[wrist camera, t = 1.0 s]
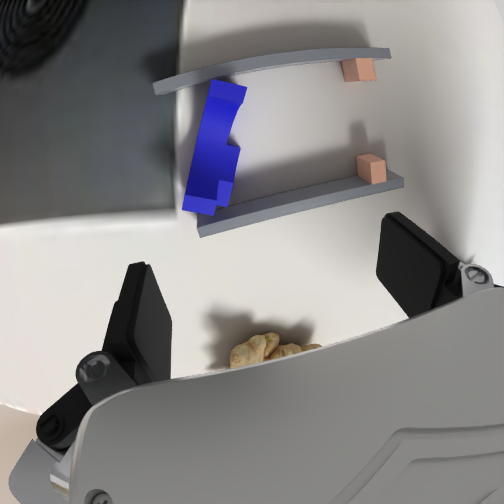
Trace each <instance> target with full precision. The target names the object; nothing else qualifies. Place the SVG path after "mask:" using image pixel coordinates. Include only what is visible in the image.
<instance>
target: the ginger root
mask: <svg viewBox="0 0 504 504" xmlns="http://www.w3.org/2000/svg"><path fill="white" fill-rule="evenodd" d="M278 344H279V335H278V334H275V333H271V332H270V333H266V334H263V335H255V336H253V337H251V338H250V339H249V340H248V341H247V342H245V343H242V344H239V345H237V346H235V347H234V348H233V349H232V351H231V354H230V368H235V367H240V366H245V365H250V364H255V363H259V362H264V361H268V360H272V359H277V358H281V357H285V356H289V355H293V354H297V353H301V352H304V351H308V350H312V349H316V348H319V347H322V346H321V345H319V344H310V345H304V346H301V347H300V346H298V345H296V344H293V343H290V344H287V345H278ZM230 368H229V369H230Z"/></svg>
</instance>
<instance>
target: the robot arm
mask: <svg viewBox="0 0 504 504" xmlns="http://www.w3.org/2000/svg"><path fill="white" fill-rule="evenodd" d="M376 275H377V278H378V279H379V281H380V282H381V283H382V284H383V285H384V287H385V288H386V289H387V290H388V292H389V293H390V294H391V295H392V297H393V298H394V299H395V300H396V302H397V303H398V304H399V305H400V307H401V308H402V309H403V311H404V312H405V313H406V314H407V316H408V317H409V319H406V320H403V321H401V322H398V323H395V324H392V325H389V326H386V327H384V328H381V329H378V330H375V331H372V332H369V333H366V334H363V335H360V336H356V337H353V338H350V339H347V340H343V341H340V342H337V343H333V344H330V345H326V346H323V347H319V348H316V349H312V350H308V351H304V352H301V353H297V354H293V355H289V356H285V357H281V358H277V359H272V360H268V361H264V362H259V363H255V364H250V365H245V366H240V367H235V368H230V369H225V370H220V371H215V372H209V373H204V374H198V375H192V376H186V377H180V378H174V379H171V339H172V320H171V316H170V314H169V311H168V309H167V306H166V304H165V302H164V299H163V297H162V294H161V292H160V289H159V286H158V284H157V281H156V279H155V276H154V273H153V271H152V268H151V266H150V264H147V265H146V264H145V262H138V263H133V264H129V266H128V269H127V272H126V276H125V279H124V282H123V285H122V289H121V292H120V295H119V299H118V301H116V302H115V304H114V306H113V310H112V313H111V317H110V321H109V324H108V328H107V332H106V336H105V340H104V344H103V348H102V351H96V352H92V353H90V354H88V355H87V356H85V357H84V358H83V359H82V360H81V361H80V363H79V364H78V366H77V369H76V379H77V381H78V383H77V384H76V385H75V386H74V387H73V388H72V389H70V390H69V391H68V392H67V393H66V394H65V395H63V396H62V397H61V398H60V399H59V400H58V401H56V402H55V403H54V404H53V405H52V406H51V407H50V408H48V409H47V410H46V411H45V412H44V413H43V414H42V415H41V416H40V418H39V420H38V422H37V426H36V433H37V436H38V438H37V439H36V441H35V440H33V439H32V440H31V442H30V443H29V445H28V446H27V448H26V449H25V451H24V452H23V454H22V456H21V457H20V459H19V460H18V462H17V464H16V466H15V467H14V469H13V470H12V472H11V474H10V476H9V488H10V490H11V492H12V494H13V495H14V497H16V499H17V500H18V501H19V502H20V503H21V504H504V287H502V286H499V285H495V284H494V283H493V279H492V276H491V274H490V273H489V272H488V271H487V270H486V269H485V268H483V267H481V266H479V265H476V264H466V265H465V264H464V263H463V262H461V261H460V260H458V259H457V258H456V257H455V256H454V255H453V254H452V253H450V252H449V251H448V250H447V249H446V248H445V247H443V246H442V245H441V244H440V243H439V242H437V241H436V240H435V239H434V238H432V237H431V236H430V235H429V234H427V233H426V232H425V231H424V230H422V229H421V228H420V227H419V226H417V225H416V224H415V223H413V222H412V221H411V220H409V219H408V218H407V217H406V216H404V215H403V214H401V213H400V212H393V213H387V214H386V215H385V217H384V218H383V219H382V223H381V233H380V243H379V251H378V260H377V267H376Z"/></svg>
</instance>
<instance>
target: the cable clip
mask: <svg viewBox="0 0 504 504" xmlns="http://www.w3.org/2000/svg"><path fill="white" fill-rule="evenodd" d="M246 90H247V87H245V86H241V85H236V84H232V83H228V82H223V81H218V80H214V79H212V81H211V85H210V88H209V92H208V96H207V100H206V104H205V109H204V113H203V117H202V121H201V125H200V129H199V133H198V138H197V142H196V146H195V151H194V155H193V159H192V164H191V168H190V173H189V178H188V182H187V187H186V191H185V196H184V201H183V207H182V210H184V211H190V212H196V213H201V214H207V215H212V216H214V213H215V209H216V205H218V206H224V207H228V204H229V200H230V196H231V192H232V188H233V184H234V178H235V172H236V166H237V162H238V157H239V153H240V149H241V148H240V147H239V146H235V145H230V144H227V141H228V137H229V134H230V130H231V127H232V124H233V121H234V118H235V116H236V113H237V111H238V109H239V107H240V105H241V104H242V103H243V100H244V97H245V93H246Z"/></svg>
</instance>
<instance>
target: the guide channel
mask: <svg viewBox="0 0 504 504" xmlns="http://www.w3.org/2000/svg"><path fill="white" fill-rule="evenodd" d="M390 58H391V55H390V50H389V48H367V47H354V48H326V49H311V50H300V51H291V52H283V53H275V54H268V55H262V56H256V57H250V58H245V59H240V60H235V61H230V62H225V63H221V64H217V65H213V66H208V67H205V68H201V69H197V70H193V71H190V72H186V73H183V74H179V75H176V76H173V77H170V78H166V79H163V80H160V81H157V82H154V83H153V87H154V90H155V94H156V95H164V94H167V93H170V92H174V91H177V90H180V89H183V88H187V87H190V86H194V85H198V84H201V83H205V82H209V81H212V79H214V80H217V79H221V78H225V77H230V76H234V75H239V74H244V73H249V72H254V71H260V70H265V69H272V68H278V67H285V66H292V65H301V64H310V63H321V62H334V61H341V63H342V68H343V73H344V78H345V82H349V81H371V80H376V76H375V71H374V65H373V60H381V59H390ZM356 162H357V172H358V176H354V177H349V178H344V179H340V180H335V181H331V182H326V183H321V184H317V185H313V186H308V187H304V188H300V189H295V190H291V191H287V192H283V193H279V194H275V195H271V196H267V197H263V198H259V199H255V200H251V201H247V202H243V203H239V204H235V205H232V206H228V207H224V208H221V209H217V210H215V213H214V216H212V215H207V214H199V215H198V216H197V230H198V233H199V236H200V238H202V237H205V236H209V235H213V234H216V233H220V232H224V231H227V230H231V229H235V228H239V227H242V226H246V225H250V224H254V223H258V222H261V221H265V220H269V219H273V218H277V217H281V216H285V215H289V214H293V213H297V212H301V211H305V210H309V209H313V208H317V207H321V206H325V205H329V204H333V203H338V202H342V201H346V200H350V199H354V198H359V197H363V196H367V195H372V194H376V193H380V192H385V191H389V190H394V189H398V188H403V187H404V180H403V177H401V176H399V175H397V174H395V173H393V172H391V171H389V170H386V162H385V160H384V159H381V158H379V157H377V156H375V155H372V154H365V155H359V156H356Z"/></svg>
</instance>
